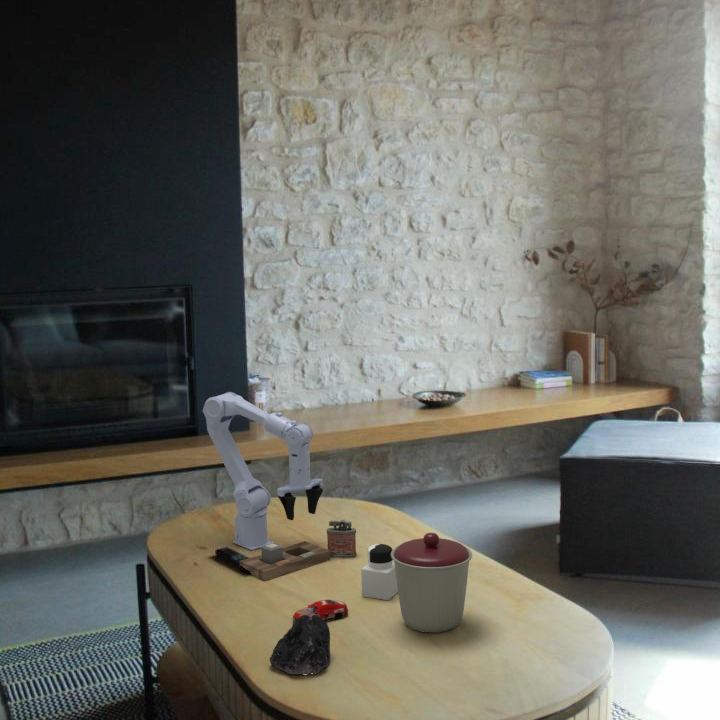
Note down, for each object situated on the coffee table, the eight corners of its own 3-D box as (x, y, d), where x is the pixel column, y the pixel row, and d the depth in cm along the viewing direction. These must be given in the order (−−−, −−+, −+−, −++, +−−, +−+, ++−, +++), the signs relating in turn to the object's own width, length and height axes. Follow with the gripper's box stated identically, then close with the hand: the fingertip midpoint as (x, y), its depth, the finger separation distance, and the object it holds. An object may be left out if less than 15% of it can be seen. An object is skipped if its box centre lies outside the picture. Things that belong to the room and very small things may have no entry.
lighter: (357, 554, 260) (356, 518, 259) (356, 558, 257) (355, 522, 255) (328, 553, 261) (327, 518, 259) (326, 557, 258) (325, 522, 256)
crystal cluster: (280, 686, 187) (284, 640, 186) (259, 653, 200) (262, 609, 198) (342, 677, 193) (346, 632, 191) (318, 645, 205) (322, 603, 203)
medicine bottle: (399, 590, 233) (399, 543, 232) (388, 601, 227) (387, 552, 225) (373, 586, 236) (372, 540, 235) (361, 596, 230) (360, 549, 228)
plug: (262, 569, 250) (261, 545, 249) (274, 565, 253) (273, 542, 252) (271, 572, 247) (270, 549, 246) (283, 568, 250) (282, 545, 249)
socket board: (239, 570, 250) (239, 559, 249) (305, 549, 264) (304, 540, 264) (265, 581, 242) (264, 570, 241) (330, 559, 256) (330, 549, 256)
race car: (298, 630, 212) (297, 613, 212) (289, 621, 217) (288, 605, 217) (351, 618, 218) (350, 601, 217) (341, 610, 223) (340, 594, 222)
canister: (379, 616, 218) (377, 527, 215) (448, 602, 225) (447, 516, 222) (414, 647, 202) (412, 551, 199) (487, 631, 209) (487, 539, 206)
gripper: (287, 475, 253) (289, 525, 254) (329, 465, 262) (330, 513, 264) (271, 471, 258) (273, 519, 260) (313, 461, 267) (314, 508, 269)
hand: (301, 516), depth 262 cm, fingers open, 7 cm apart
